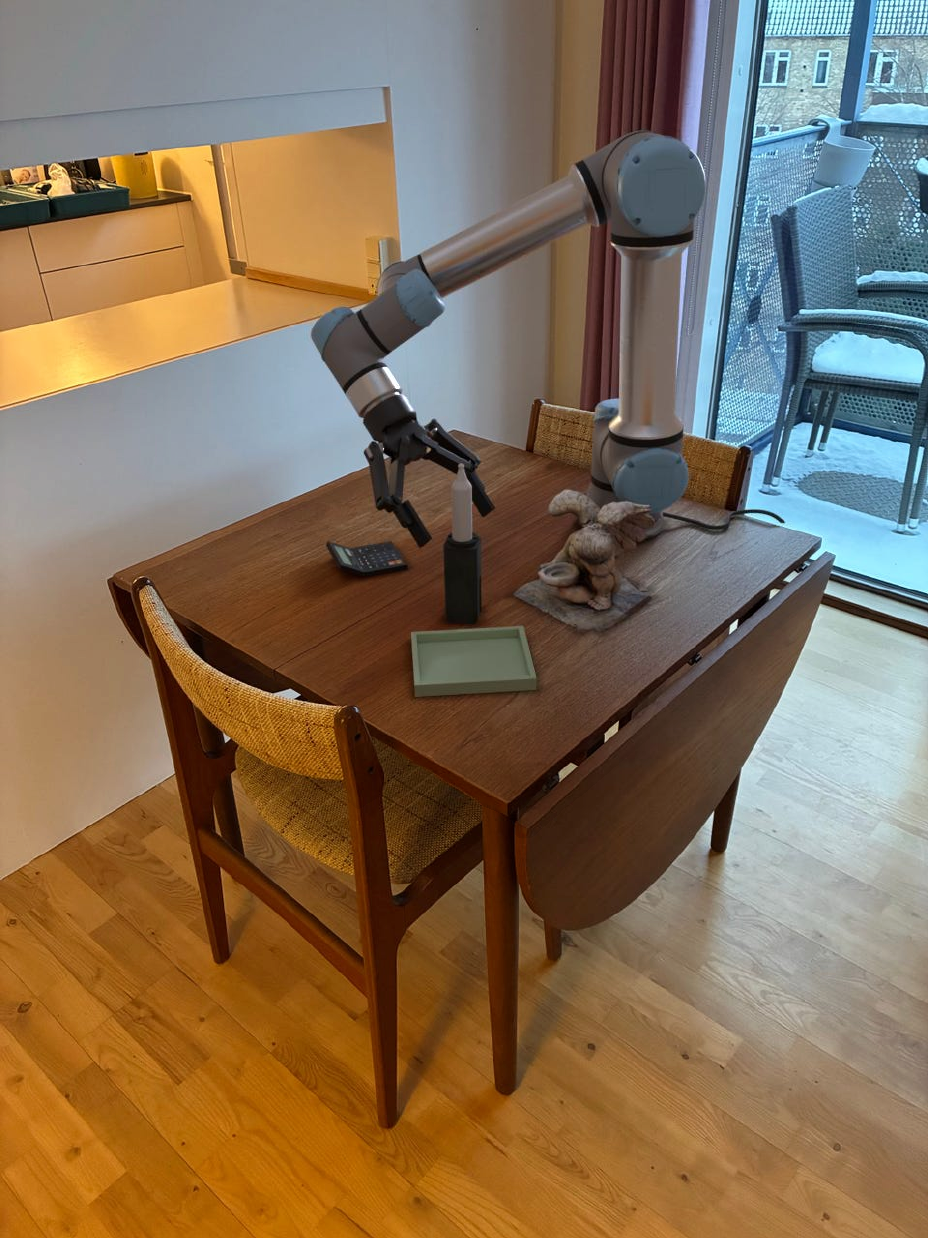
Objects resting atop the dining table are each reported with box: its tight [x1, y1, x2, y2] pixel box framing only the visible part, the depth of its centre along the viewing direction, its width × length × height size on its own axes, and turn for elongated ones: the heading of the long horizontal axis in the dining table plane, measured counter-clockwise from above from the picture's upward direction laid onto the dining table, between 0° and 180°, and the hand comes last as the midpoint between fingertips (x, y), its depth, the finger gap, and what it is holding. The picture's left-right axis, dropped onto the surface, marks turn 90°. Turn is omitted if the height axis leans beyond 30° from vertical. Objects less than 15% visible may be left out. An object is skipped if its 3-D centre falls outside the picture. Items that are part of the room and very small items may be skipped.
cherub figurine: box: [512, 489, 655, 634], centre depth 148 cm, size 18×18×18 cm
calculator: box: [325, 540, 409, 578], centre depth 163 cm, size 9×12×3 cm
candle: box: [442, 463, 482, 625], centre depth 142 cm, size 5×5×25 cm
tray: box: [410, 625, 538, 698], centre depth 136 cm, size 17×14×2 cm
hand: (458, 527), depth 141 cm, fingers open, 13 cm apart
